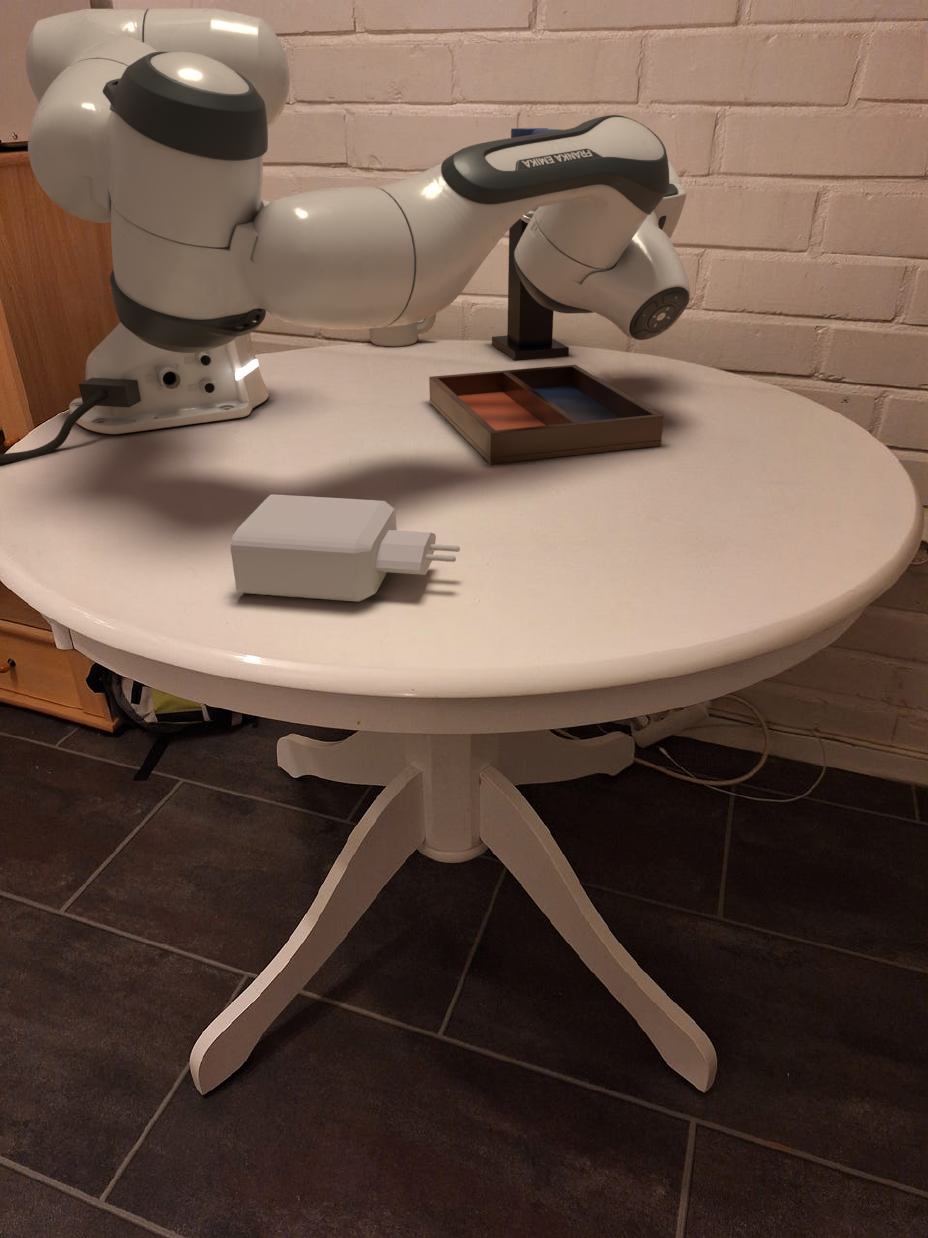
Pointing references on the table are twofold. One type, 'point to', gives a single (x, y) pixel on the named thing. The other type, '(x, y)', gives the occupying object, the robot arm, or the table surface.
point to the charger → (326, 548)
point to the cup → (400, 333)
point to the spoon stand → (526, 316)
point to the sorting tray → (543, 413)
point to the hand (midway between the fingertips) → (570, 146)
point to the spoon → (529, 131)
